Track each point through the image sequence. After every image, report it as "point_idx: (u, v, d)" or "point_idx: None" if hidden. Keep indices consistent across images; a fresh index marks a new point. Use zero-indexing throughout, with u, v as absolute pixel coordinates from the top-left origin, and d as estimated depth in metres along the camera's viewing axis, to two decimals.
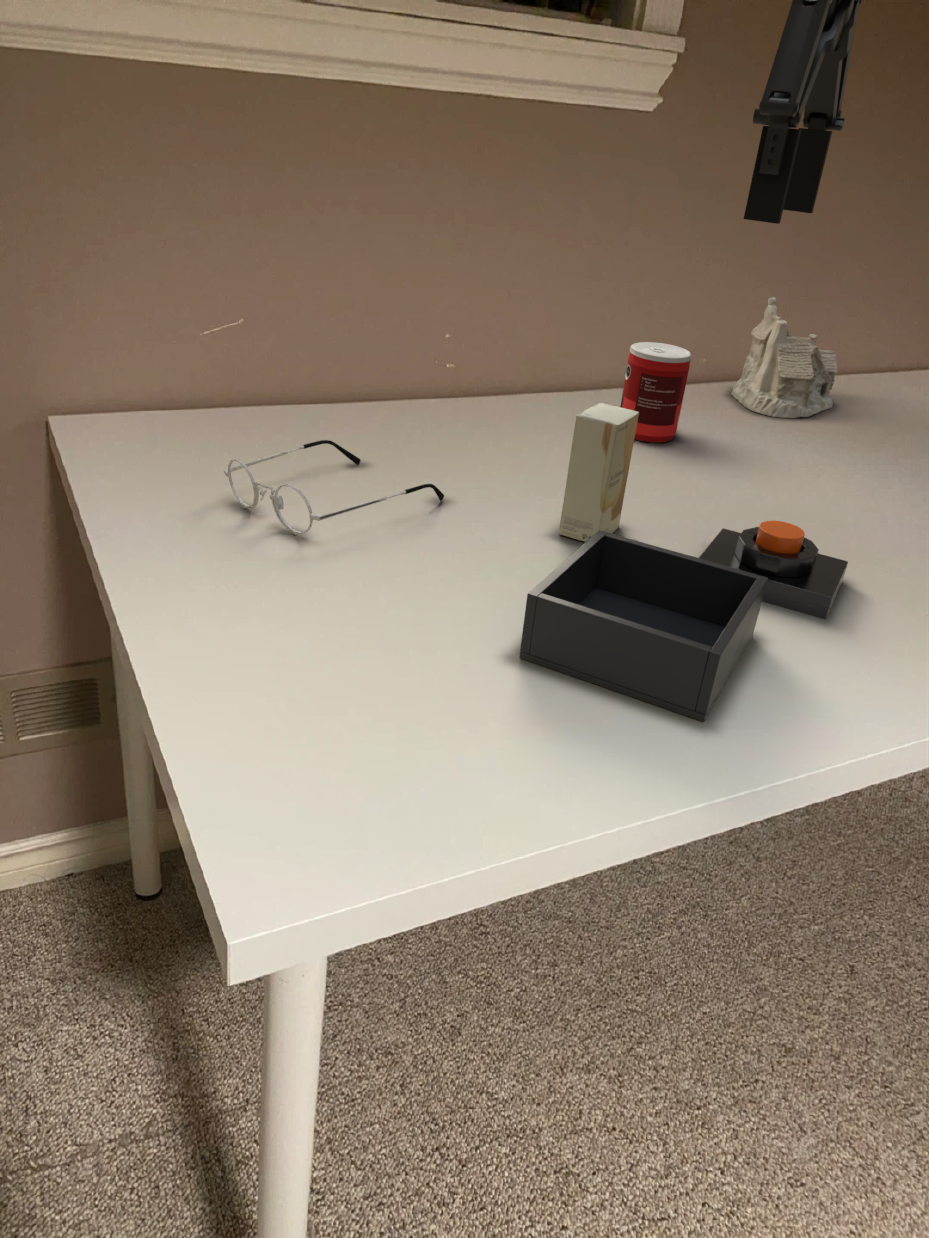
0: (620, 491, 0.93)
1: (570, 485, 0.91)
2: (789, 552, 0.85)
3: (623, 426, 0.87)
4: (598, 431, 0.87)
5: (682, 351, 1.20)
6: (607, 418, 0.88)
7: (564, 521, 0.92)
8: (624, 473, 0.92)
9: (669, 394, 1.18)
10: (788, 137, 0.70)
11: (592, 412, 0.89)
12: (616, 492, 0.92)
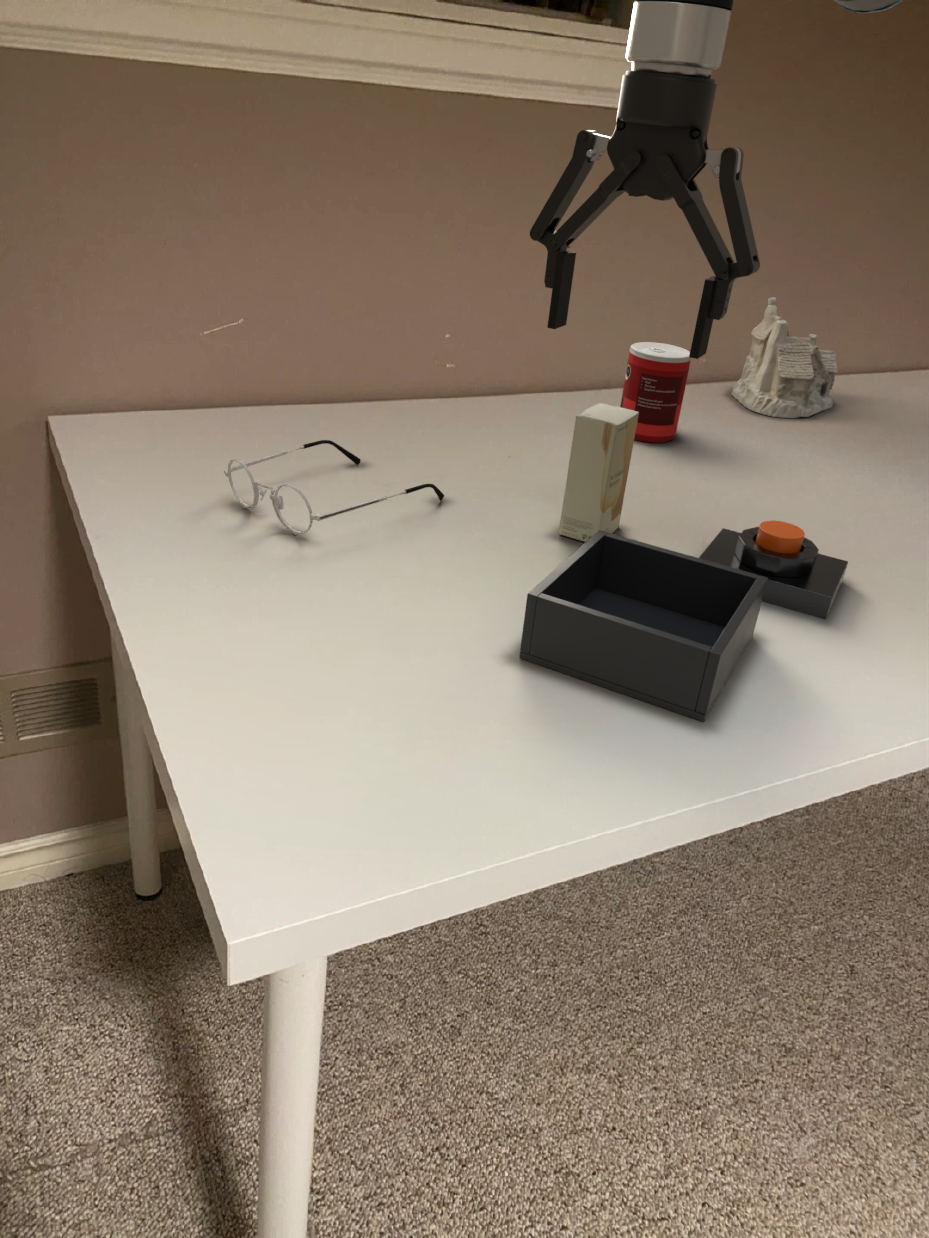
0: (620, 491, 0.93)
1: (570, 485, 0.91)
2: (789, 552, 0.85)
3: (623, 426, 0.87)
4: (598, 431, 0.87)
5: (682, 351, 1.20)
6: (607, 418, 0.88)
7: (564, 521, 0.92)
8: (624, 473, 0.92)
9: (669, 394, 1.18)
10: (556, 259, 0.85)
11: (592, 412, 0.89)
12: (616, 492, 0.92)
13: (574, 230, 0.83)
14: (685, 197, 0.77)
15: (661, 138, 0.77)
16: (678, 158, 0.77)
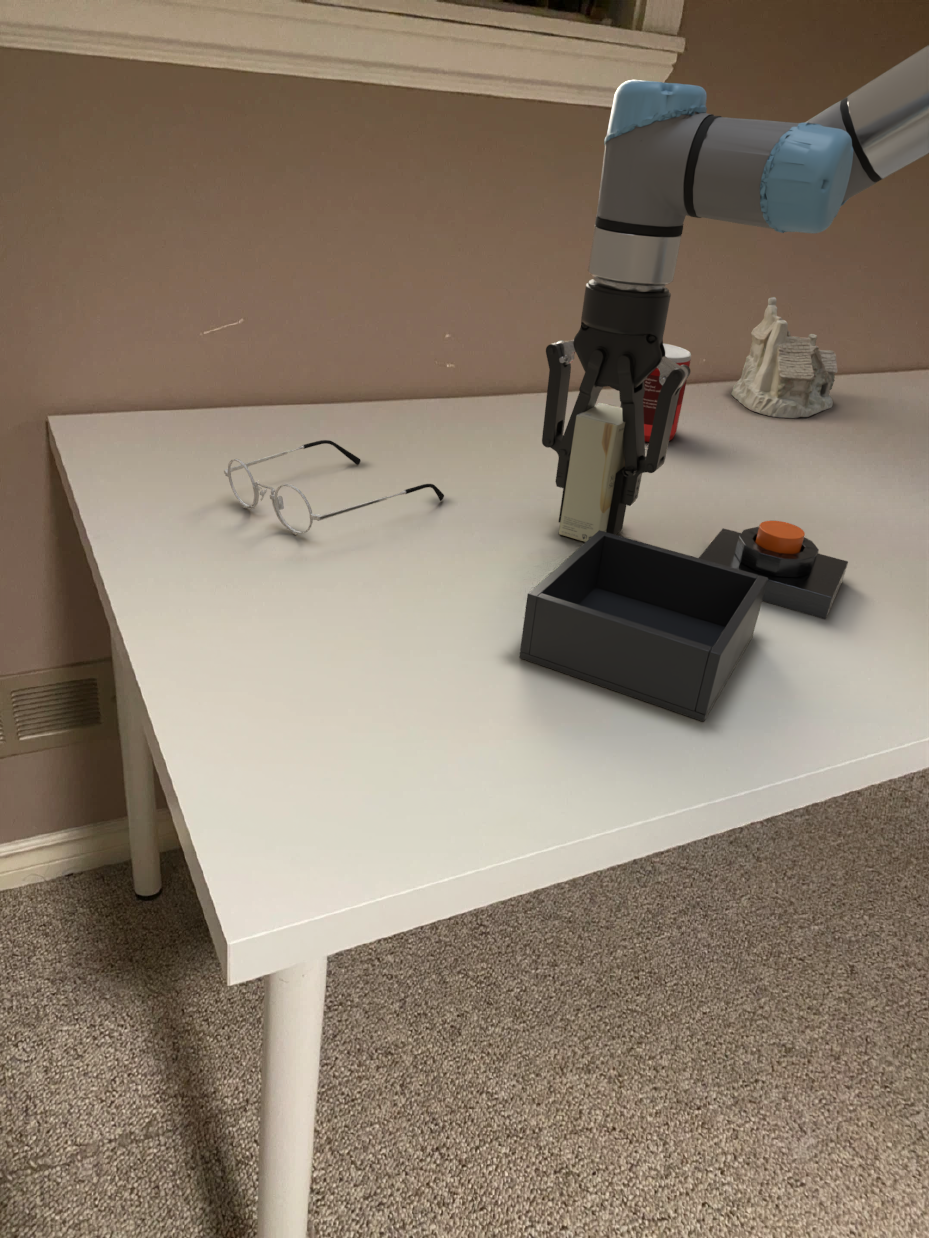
0: None
1: (570, 485, 0.91)
2: (789, 552, 0.85)
3: (623, 426, 0.87)
4: (598, 432, 0.87)
5: (682, 351, 1.20)
6: (607, 418, 0.87)
7: (564, 521, 0.92)
8: None
9: None
10: (566, 463, 0.92)
11: (592, 412, 0.89)
12: None
13: None
14: (628, 397, 0.86)
15: (621, 340, 0.85)
16: (637, 353, 0.84)
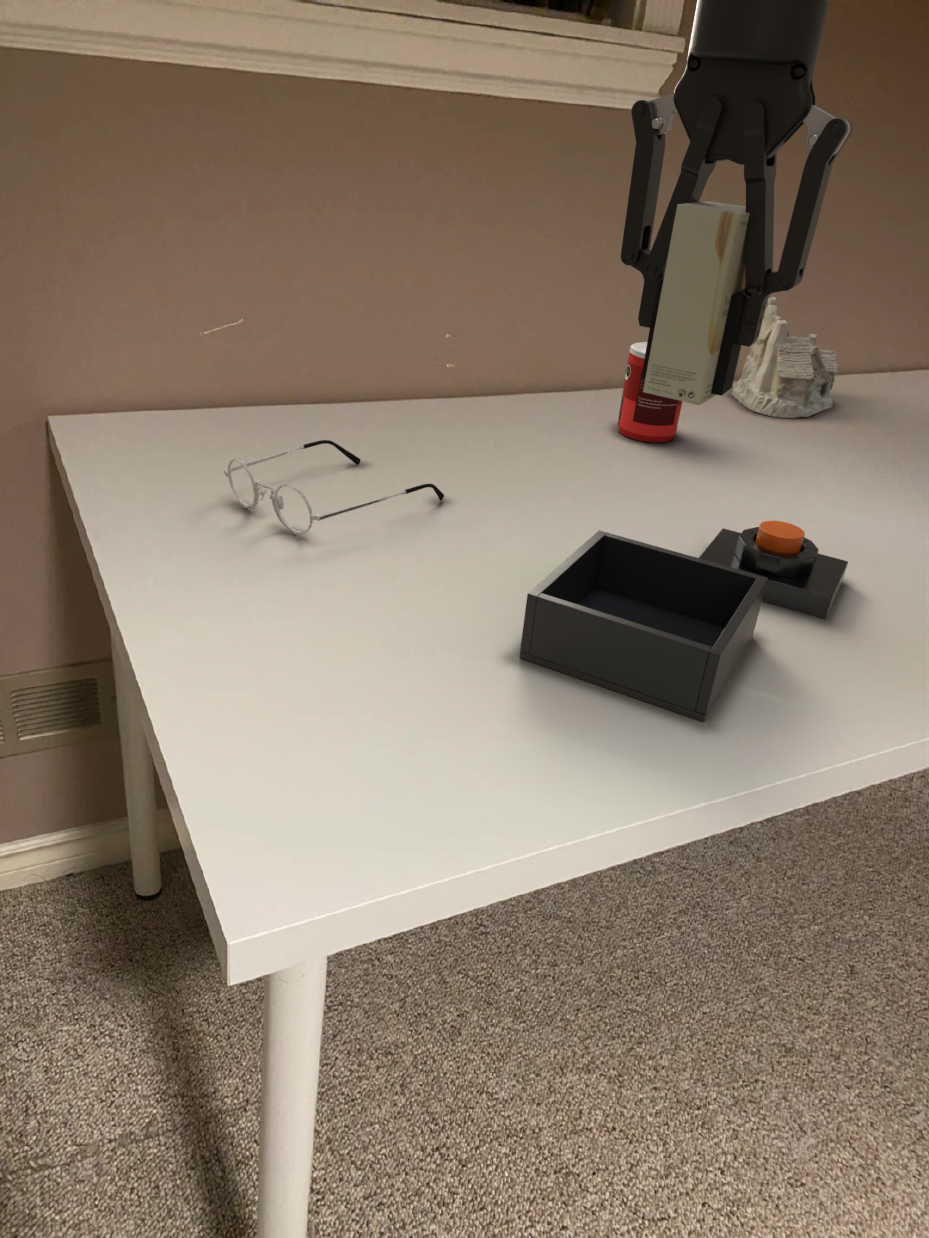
0: None
1: (663, 315, 0.63)
2: (789, 552, 0.85)
3: (747, 219, 0.59)
4: (711, 227, 0.59)
5: None
6: (723, 208, 0.59)
7: (651, 372, 0.64)
8: None
9: None
10: (655, 289, 0.64)
11: (699, 203, 0.61)
12: None
13: None
14: (757, 171, 0.58)
15: (750, 79, 0.56)
16: (775, 98, 0.56)
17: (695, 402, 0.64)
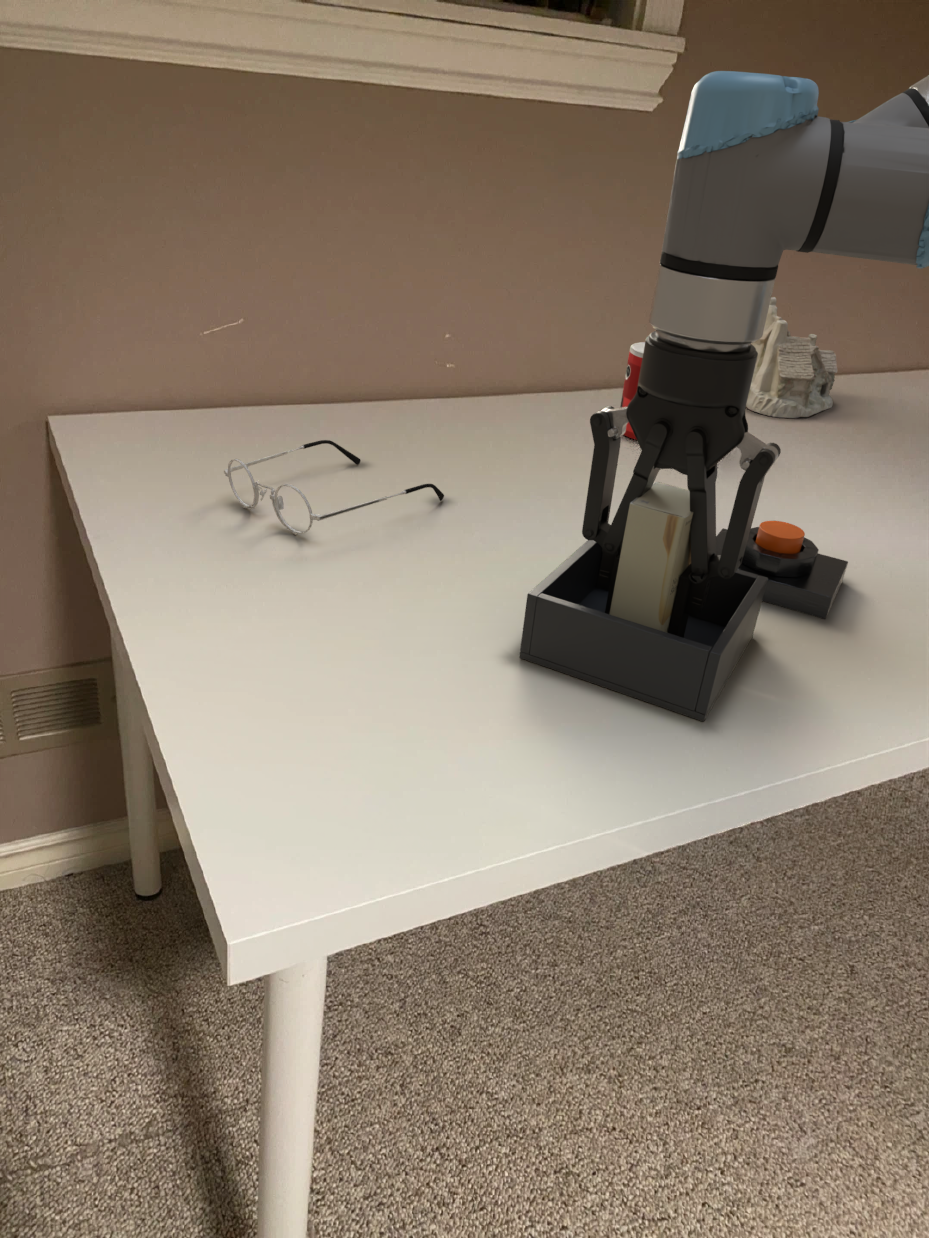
0: None
1: (620, 589, 0.71)
2: (789, 552, 0.85)
3: (691, 517, 0.68)
4: (659, 525, 0.67)
5: None
6: (670, 507, 0.68)
7: None
8: None
9: None
10: (613, 560, 0.73)
11: (650, 498, 0.69)
12: None
13: None
14: (699, 485, 0.66)
15: (691, 411, 0.65)
16: (712, 428, 0.65)
17: None
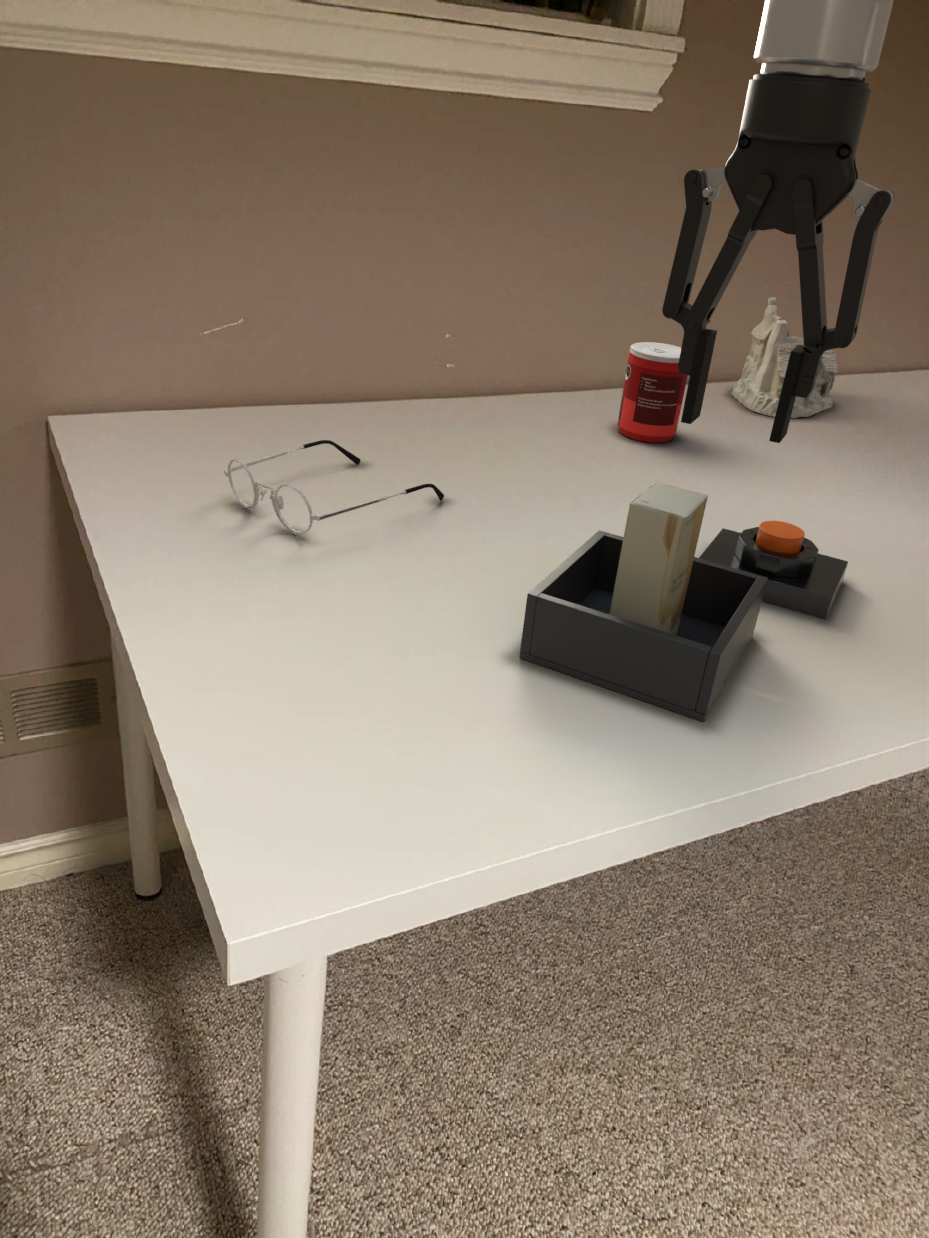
0: (682, 593, 0.73)
1: (620, 589, 0.71)
2: (789, 552, 0.85)
3: (691, 517, 0.68)
4: (659, 525, 0.67)
5: None
6: (670, 506, 0.68)
7: None
8: (688, 571, 0.73)
9: (669, 394, 1.18)
10: (695, 340, 0.69)
11: (650, 497, 0.69)
12: (678, 596, 0.72)
13: (714, 296, 0.67)
14: (809, 240, 0.62)
15: (798, 158, 0.61)
16: (821, 176, 0.61)
17: None
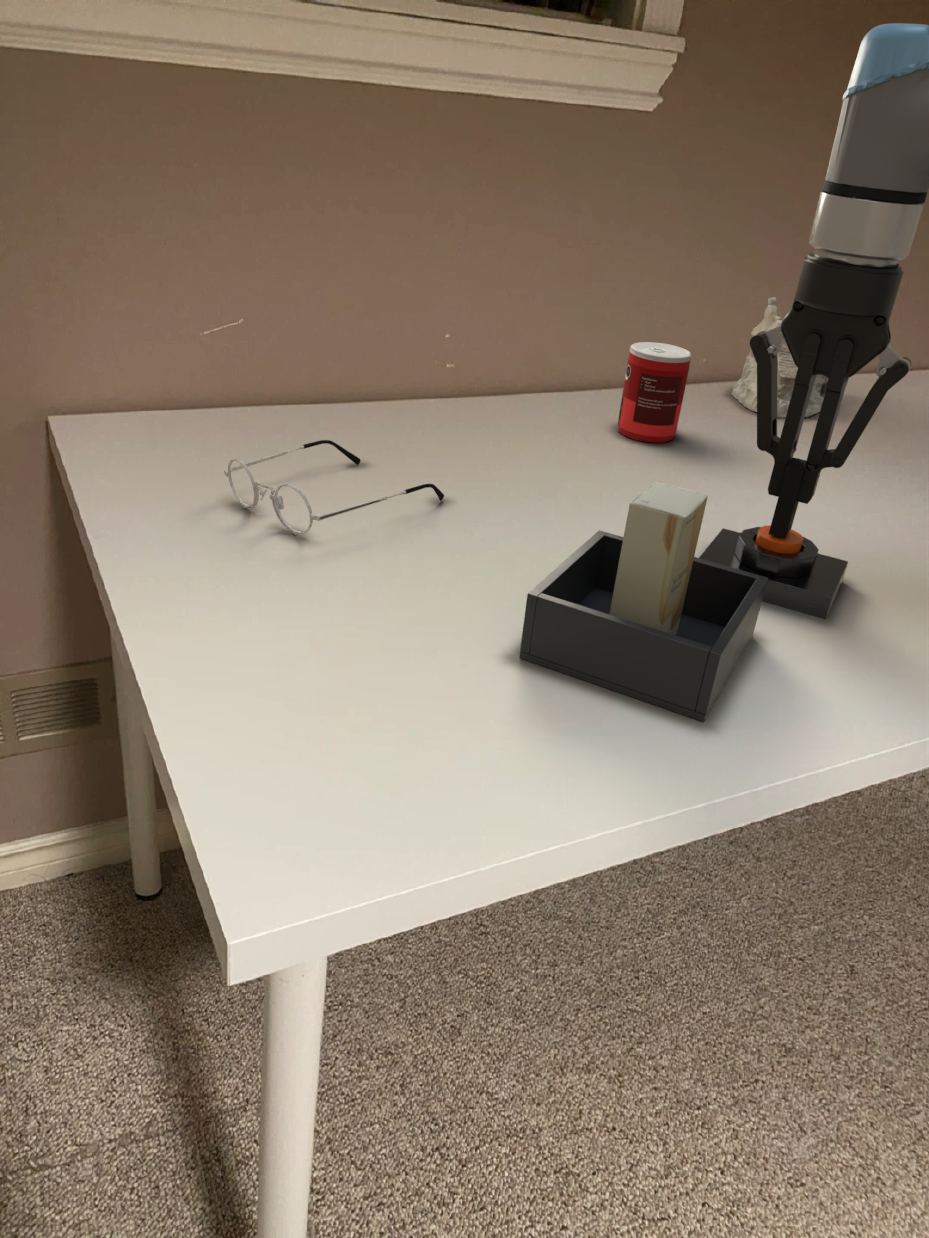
0: (682, 593, 0.73)
1: (620, 589, 0.71)
2: None
3: (691, 517, 0.68)
4: (659, 525, 0.67)
5: (682, 351, 1.20)
6: (670, 506, 0.68)
7: None
8: (688, 571, 0.73)
9: (669, 394, 1.18)
10: (783, 469, 0.83)
11: (649, 497, 0.69)
12: (678, 596, 0.72)
13: (795, 432, 0.80)
14: (837, 387, 0.77)
15: (842, 322, 0.75)
16: (862, 334, 0.75)
17: None
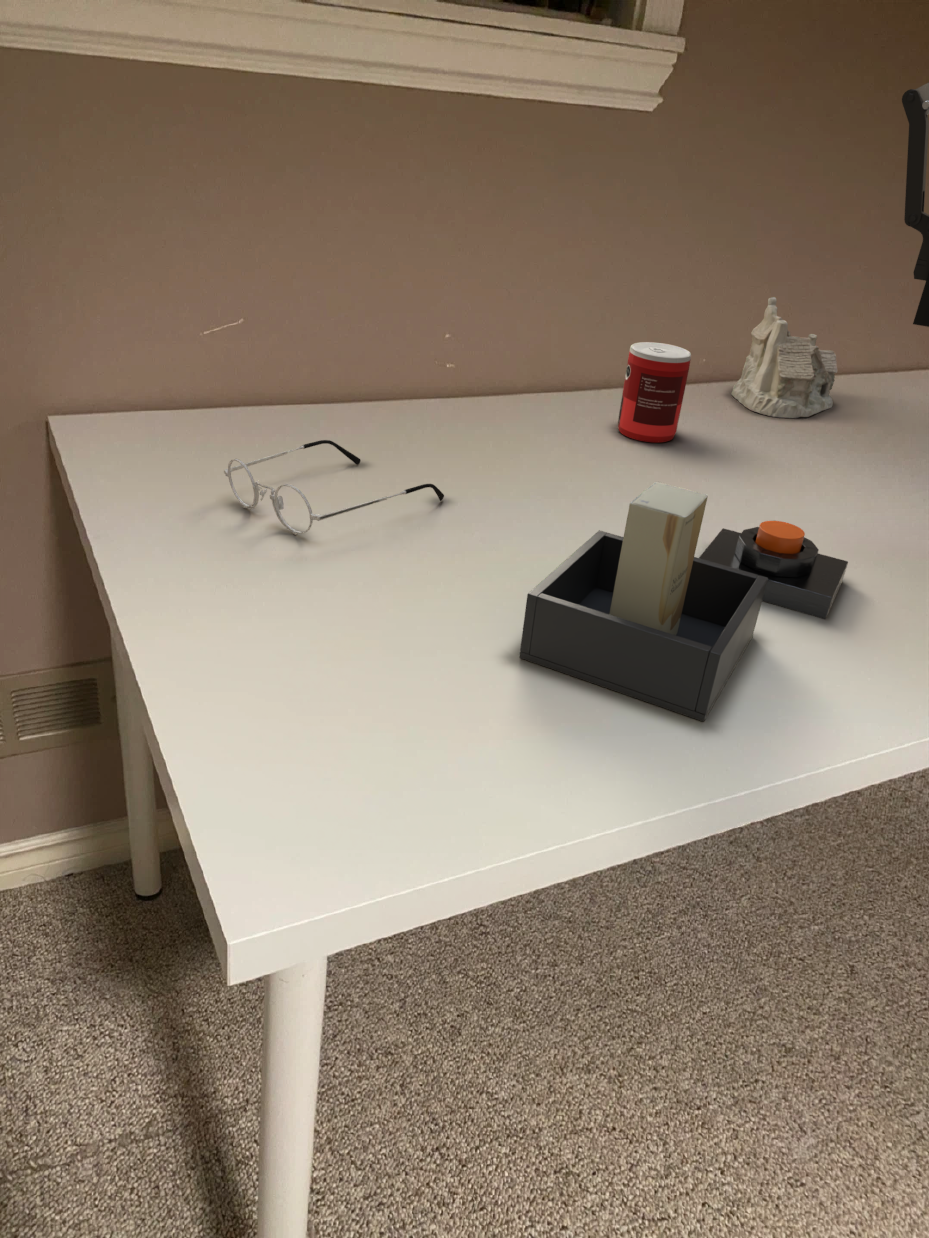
0: (682, 593, 0.73)
1: (620, 589, 0.71)
2: (789, 552, 0.85)
3: (691, 517, 0.68)
4: (659, 525, 0.67)
5: (682, 351, 1.20)
6: (670, 506, 0.68)
7: None
8: (688, 570, 0.73)
9: (669, 394, 1.18)
10: None
11: (649, 497, 0.69)
12: (678, 596, 0.72)
13: None
14: None
15: None
16: None
17: None
